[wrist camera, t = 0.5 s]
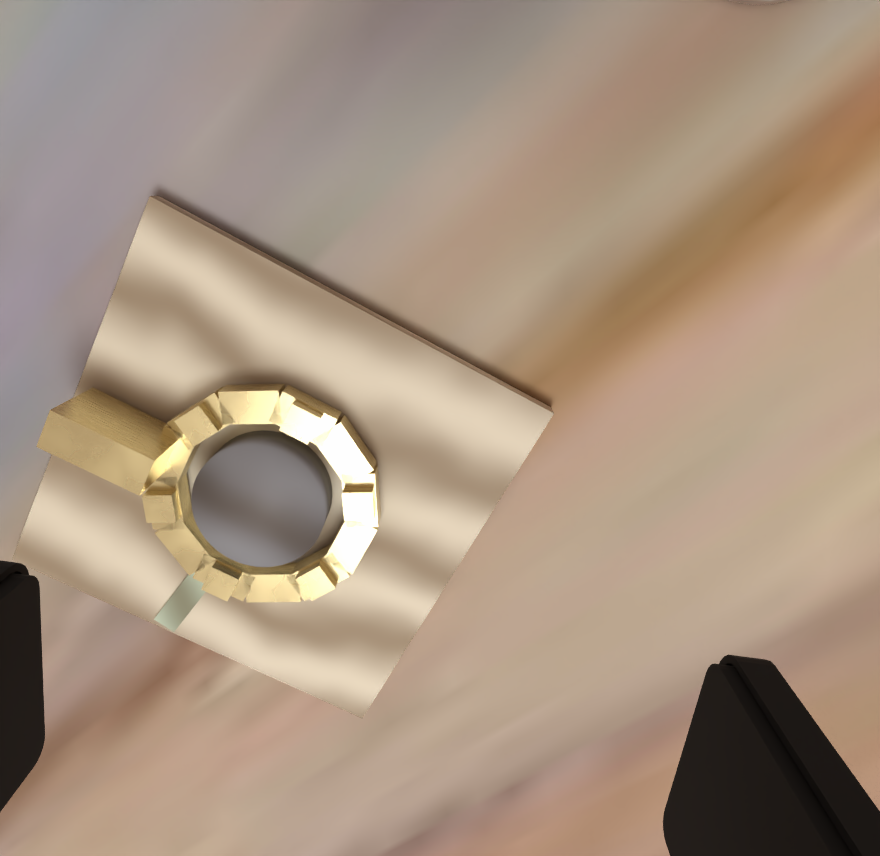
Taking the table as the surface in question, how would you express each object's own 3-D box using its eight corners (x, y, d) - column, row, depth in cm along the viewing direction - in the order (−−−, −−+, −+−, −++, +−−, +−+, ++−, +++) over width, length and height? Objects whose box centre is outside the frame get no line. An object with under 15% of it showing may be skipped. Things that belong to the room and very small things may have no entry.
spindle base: (158, 195, 39) (128, 196, 36) (551, 407, 43) (559, 427, 39) (22, 550, 47) (-14, 580, 43) (364, 706, 50) (356, 746, 47)
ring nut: (127, 301, 40) (85, 315, 35) (418, 451, 42) (413, 481, 38) (51, 496, 44) (5, 530, 40) (321, 622, 46) (306, 667, 42)
